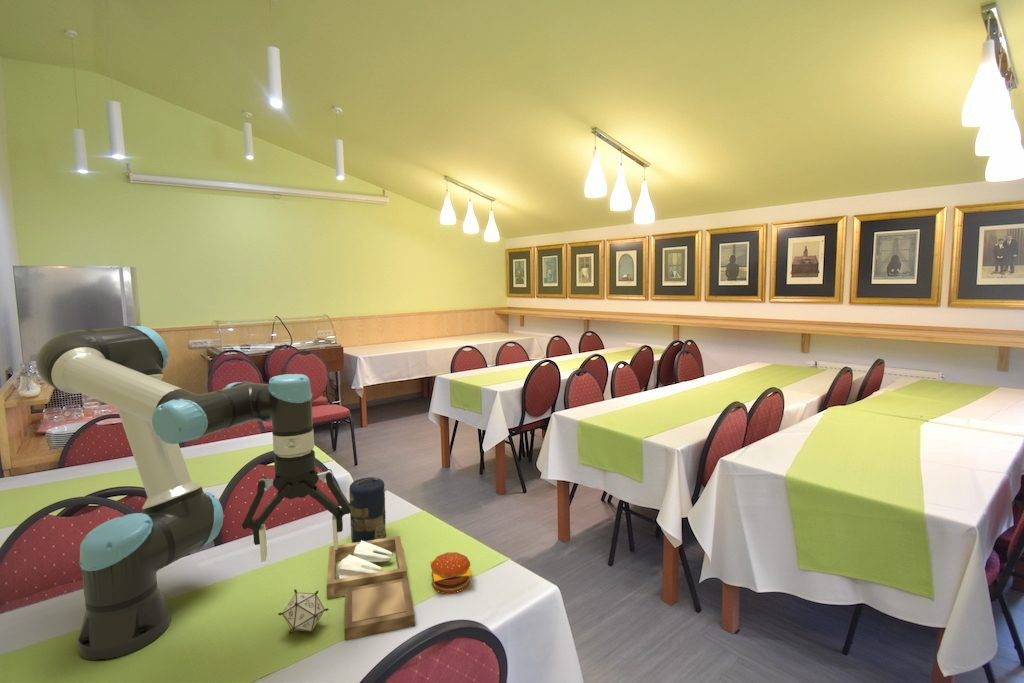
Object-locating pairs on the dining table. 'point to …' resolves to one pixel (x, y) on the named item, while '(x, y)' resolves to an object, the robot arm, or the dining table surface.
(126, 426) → the robot arm
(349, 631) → the walnut board
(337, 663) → the dining table surface
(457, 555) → the hamburger
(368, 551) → the white folded napkins
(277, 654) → the dining table surface
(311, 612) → the game die
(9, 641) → the dining table surface
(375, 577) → the oak frame
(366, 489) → the canister
